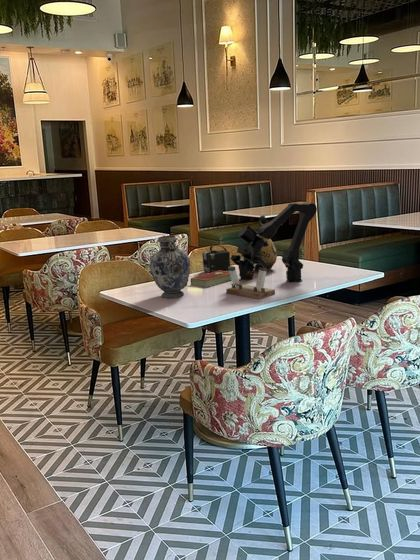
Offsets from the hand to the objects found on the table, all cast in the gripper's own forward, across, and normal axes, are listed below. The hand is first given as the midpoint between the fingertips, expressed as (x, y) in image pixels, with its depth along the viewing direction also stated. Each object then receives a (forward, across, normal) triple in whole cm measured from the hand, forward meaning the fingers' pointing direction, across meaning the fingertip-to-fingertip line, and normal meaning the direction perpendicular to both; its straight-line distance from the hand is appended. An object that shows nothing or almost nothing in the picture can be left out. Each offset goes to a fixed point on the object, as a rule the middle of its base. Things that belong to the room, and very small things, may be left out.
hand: (240, 276), depth 247 cm
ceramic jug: (-25, -25, +36) cm, 51 cm away
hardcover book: (0, -28, +11) cm, 30 cm away
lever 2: (+5, +14, +1) cm, 15 cm away
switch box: (+6, +7, +4) cm, 10 cm away
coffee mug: (-10, -16, +21) cm, 28 cm away
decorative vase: (+21, -23, -11) cm, 33 cm away
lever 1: (+5, 0, +1) cm, 5 cm away
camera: (-14, -47, +25) cm, 55 cm away
